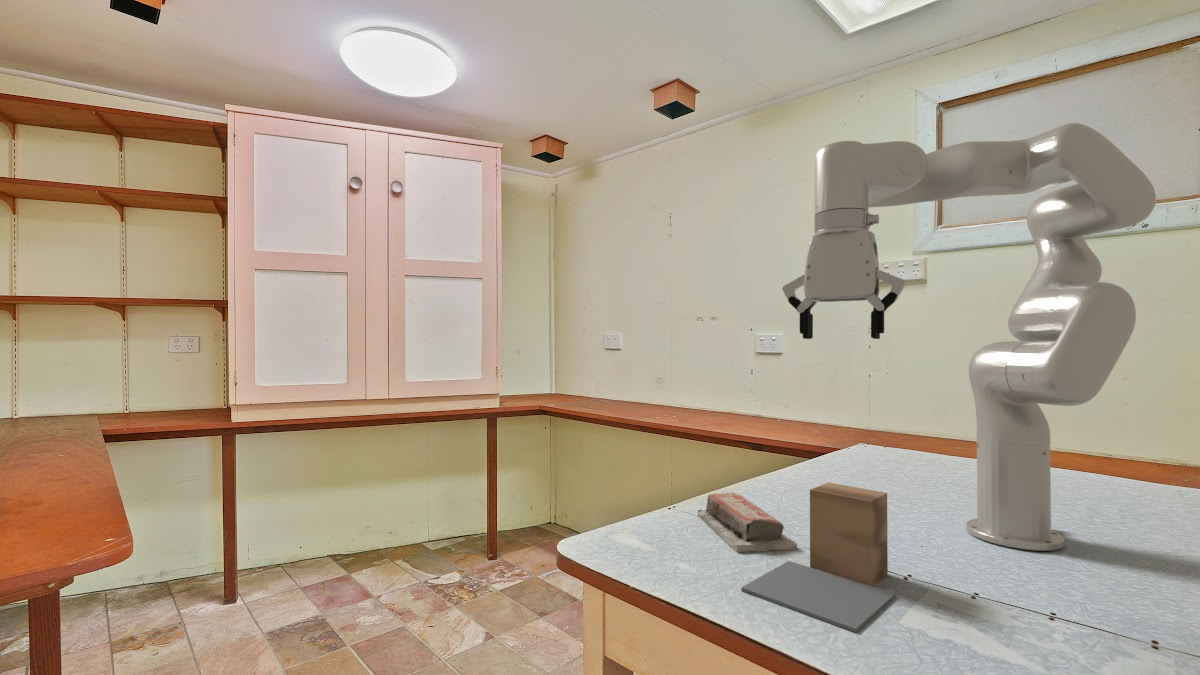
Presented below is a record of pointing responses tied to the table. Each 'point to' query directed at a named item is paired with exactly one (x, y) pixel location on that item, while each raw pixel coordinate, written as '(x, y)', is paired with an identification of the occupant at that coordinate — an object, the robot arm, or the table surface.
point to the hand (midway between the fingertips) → (840, 338)
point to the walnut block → (849, 532)
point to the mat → (821, 595)
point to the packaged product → (744, 524)
